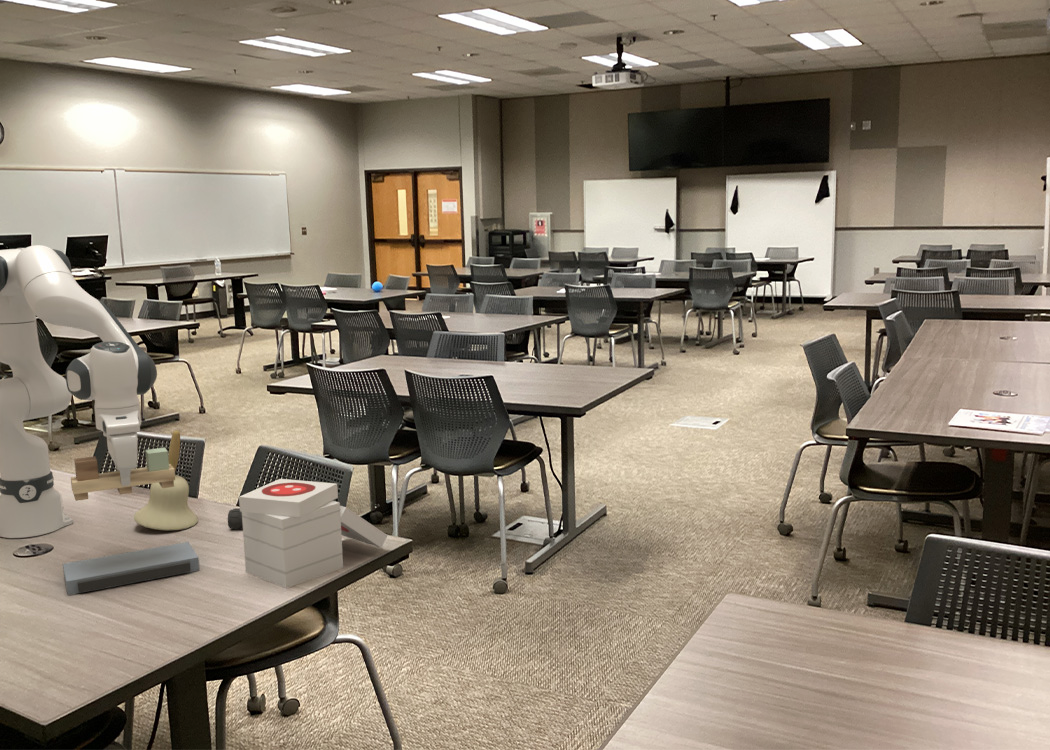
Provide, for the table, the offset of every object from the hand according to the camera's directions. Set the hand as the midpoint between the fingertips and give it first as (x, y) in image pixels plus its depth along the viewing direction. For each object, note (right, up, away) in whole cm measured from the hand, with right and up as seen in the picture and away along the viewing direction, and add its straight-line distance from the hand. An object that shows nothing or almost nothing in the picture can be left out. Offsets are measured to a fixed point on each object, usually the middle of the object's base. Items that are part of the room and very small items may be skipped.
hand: (123, 481), depth 196 cm
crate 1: (-6, +1, -4) cm, 7 cm away
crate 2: (+6, +2, +3) cm, 7 cm away
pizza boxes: (+39, -19, +8) cm, 44 cm away
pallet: (0, -2, 0) cm, 2 cm away
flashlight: (+20, -16, +33) cm, 42 cm away
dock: (0, -20, +3) cm, 21 cm away
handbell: (-5, -16, +37) cm, 40 cm away
